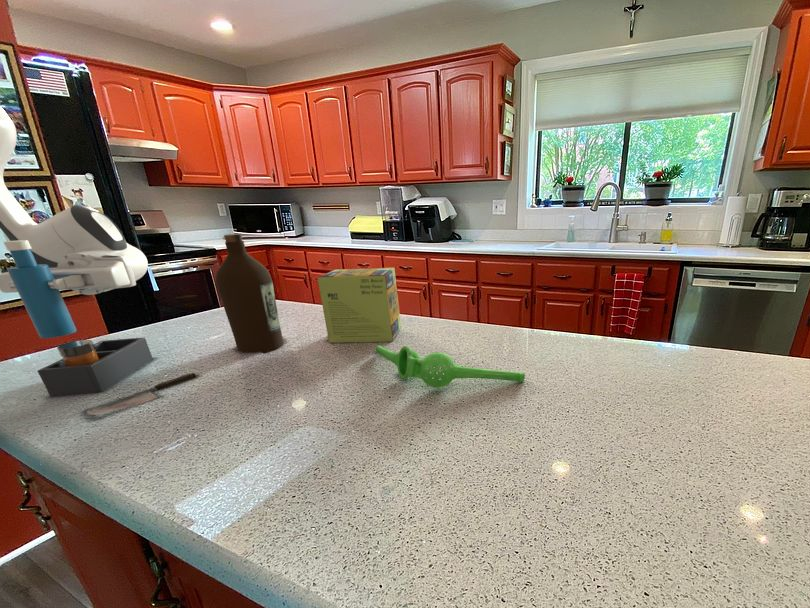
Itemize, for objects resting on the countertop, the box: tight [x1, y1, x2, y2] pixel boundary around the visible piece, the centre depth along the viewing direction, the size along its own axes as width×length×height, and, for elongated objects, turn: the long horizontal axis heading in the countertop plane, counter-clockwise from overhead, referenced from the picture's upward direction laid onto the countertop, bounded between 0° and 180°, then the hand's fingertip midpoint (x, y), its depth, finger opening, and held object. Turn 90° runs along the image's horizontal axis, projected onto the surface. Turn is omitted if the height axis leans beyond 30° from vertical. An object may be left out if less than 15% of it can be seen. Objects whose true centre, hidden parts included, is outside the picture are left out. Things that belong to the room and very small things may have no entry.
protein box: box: [317, 267, 402, 344], centre depth 94 cm, size 10×15×16 cm
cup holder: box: [37, 337, 154, 398], centre depth 76 cm, size 8×16×6 cm, turn 10°
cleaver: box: [86, 372, 197, 416], centre depth 69 cm, size 16×1×5 cm
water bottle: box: [3, 240, 78, 339], centre depth 74 cm, size 5×5×18 cm
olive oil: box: [215, 233, 284, 354], centre depth 87 cm, size 11×11×25 cm
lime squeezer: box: [375, 345, 526, 389], centre depth 72 cm, size 34×12×6 cm, turn 63°
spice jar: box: [56, 339, 99, 367], centre depth 72 cm, size 5×5×8 cm
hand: (32, 286), depth 73 cm, fingers closed on water bottle, 5 cm apart
